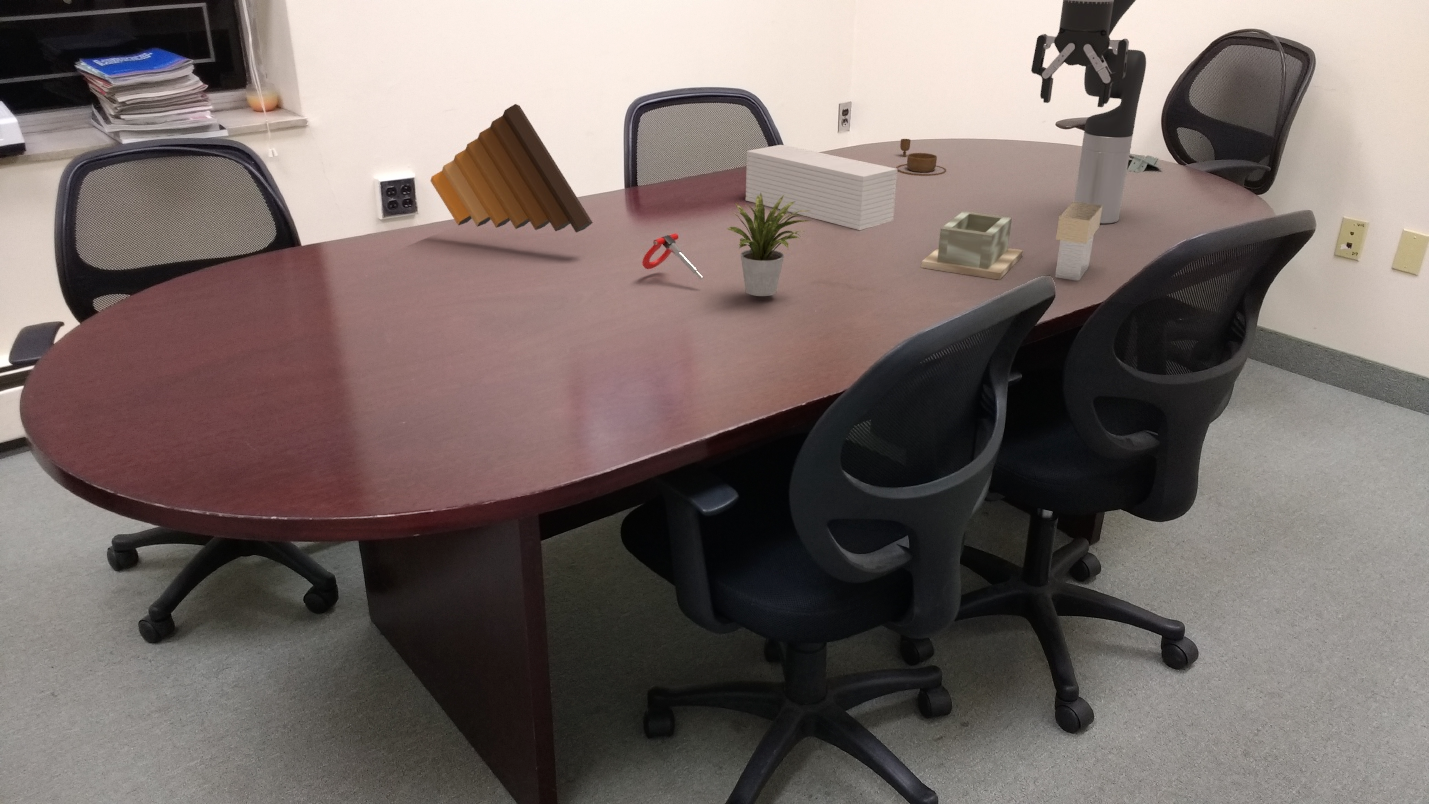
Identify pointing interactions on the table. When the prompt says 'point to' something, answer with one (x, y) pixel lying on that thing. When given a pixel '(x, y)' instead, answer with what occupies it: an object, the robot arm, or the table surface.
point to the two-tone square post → (1076, 239)
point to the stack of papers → (822, 185)
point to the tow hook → (667, 253)
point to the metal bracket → (1142, 162)
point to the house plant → (764, 247)
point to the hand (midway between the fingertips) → (1073, 104)
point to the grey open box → (974, 246)
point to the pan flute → (509, 180)
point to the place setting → (918, 161)
